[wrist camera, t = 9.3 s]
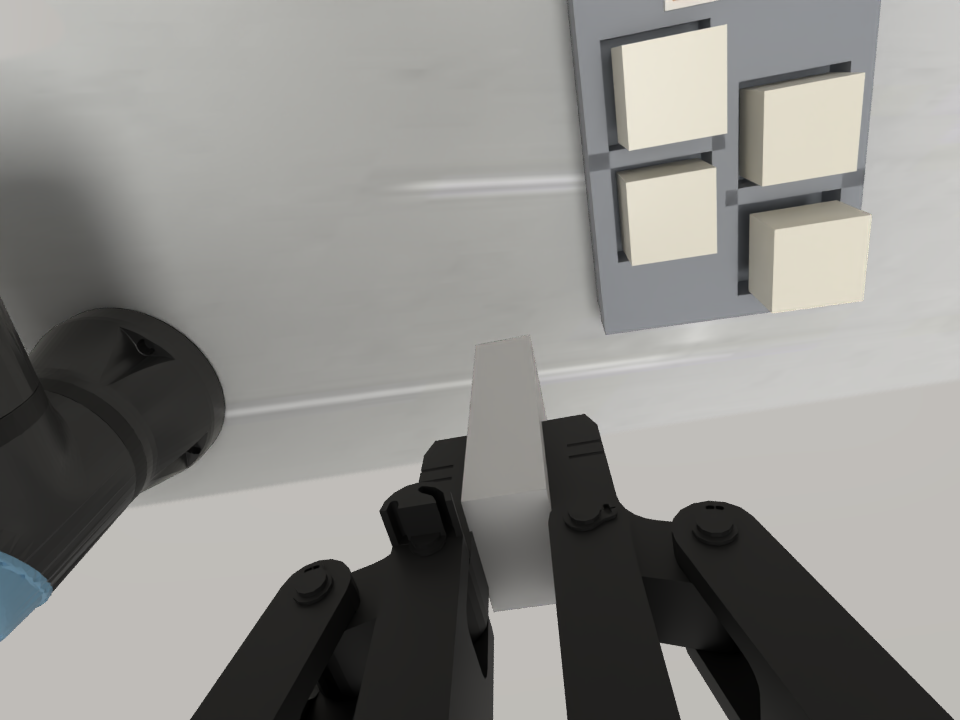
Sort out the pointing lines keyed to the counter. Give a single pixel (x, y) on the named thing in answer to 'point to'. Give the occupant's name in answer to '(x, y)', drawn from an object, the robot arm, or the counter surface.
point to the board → (707, 141)
